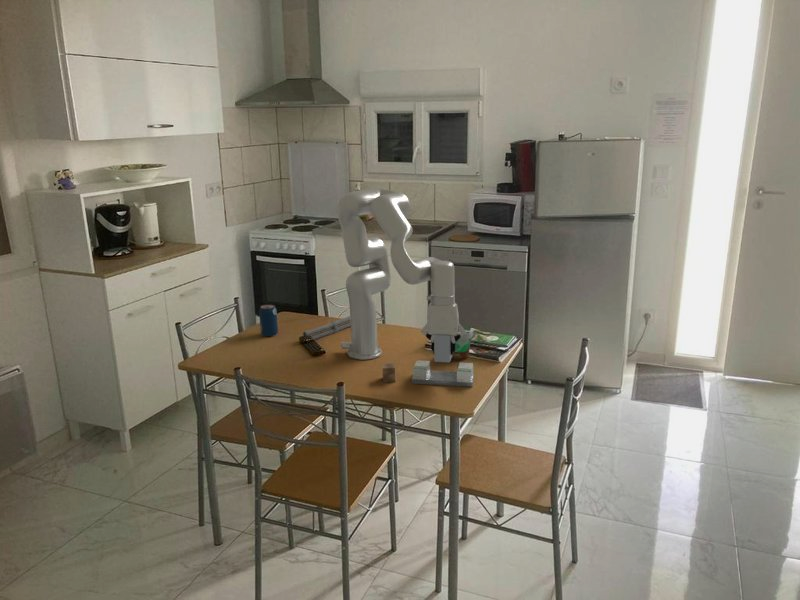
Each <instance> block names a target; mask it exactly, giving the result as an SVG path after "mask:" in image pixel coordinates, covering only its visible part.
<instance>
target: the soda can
mask: <svg viewBox="0 0 800 600" xmlns="http://www.w3.org/2000/svg"><path fill="white" fill-rule="evenodd" d="M258 313H259V314H258V315H259V324H260V325H259V327H260V333H261V335H262V336H263V335H264V336H263V337H265V336H272V337H274V336H273V335H275V336H277V335H276V334H278V333H279V324H278V310H277V308H276V306H275V304H263V305H260V308H259V310H258Z"/></svg>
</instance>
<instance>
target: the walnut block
mask: <svg viewBox="0 0 800 600" xmlns="http://www.w3.org/2000/svg"><path fill="white" fill-rule="evenodd" d="M382 382H383V383H393V382H394V383H396V365H395V363H382Z"/></svg>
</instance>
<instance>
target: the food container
mask: <svg viewBox="0 0 800 600" xmlns="http://www.w3.org/2000/svg"><path fill="white" fill-rule="evenodd" d="M459 333H460V331H459V330H458V333H457V334H459ZM473 336H474V333H473V330H472V329H471V330H470V331H466V334H465V335H463V336H462V337H461V338H460V339H458V340H457V341H456V342H455V343H456V350H455V352H454V353H453V355H452V358H451V361H454V362H455V361H457V362H459V361H465V360H467V359H468V358H469V357H470V351H471V350H470V348H471V341H472V338H473ZM468 356H469V357H468Z"/></svg>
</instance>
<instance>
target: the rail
mask: <svg viewBox="0 0 800 600" xmlns="http://www.w3.org/2000/svg"><path fill="white" fill-rule="evenodd" d="M458 364H459V366H458V365H457V369H456V371H446V370H444V371H441V370H431V361H430V360H416V361H415V363H414V366H413V367H412V377H411V380H410V381H411V384H416V385H417V384H419V385H432V386H433V385H434V386H450V387H467V388H473V386H474V382H475V381H474V380H475V378H476V377H475V372H474V363H473V362H459V363H458Z"/></svg>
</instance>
